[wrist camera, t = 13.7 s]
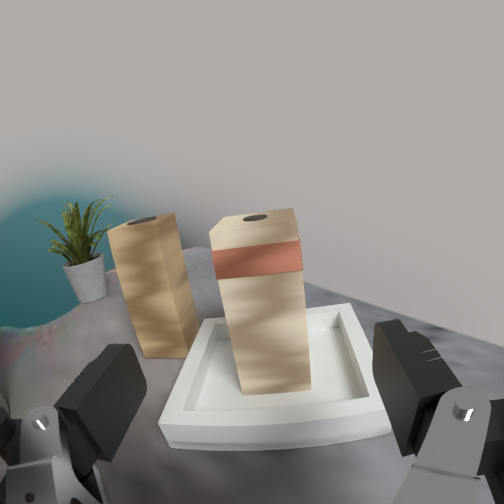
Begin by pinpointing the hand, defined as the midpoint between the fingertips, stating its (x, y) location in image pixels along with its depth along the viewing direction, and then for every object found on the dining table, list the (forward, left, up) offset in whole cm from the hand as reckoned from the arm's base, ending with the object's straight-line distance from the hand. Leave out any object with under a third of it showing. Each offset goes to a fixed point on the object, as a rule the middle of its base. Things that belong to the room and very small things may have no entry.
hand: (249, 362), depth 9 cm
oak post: (-10, +16, -9) cm, 21 cm away
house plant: (-28, +31, -9) cm, 42 cm away
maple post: (0, +10, -8) cm, 13 cm away
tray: (0, +10, -9) cm, 13 cm away
